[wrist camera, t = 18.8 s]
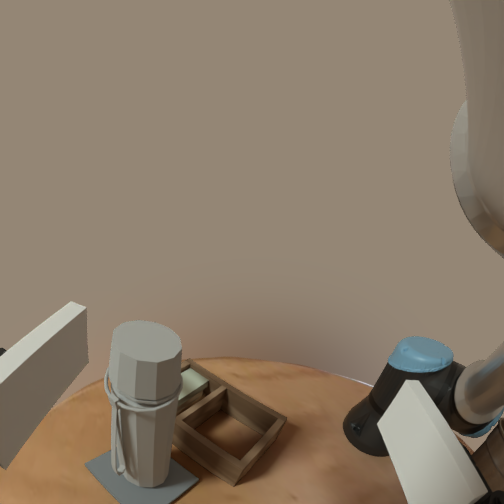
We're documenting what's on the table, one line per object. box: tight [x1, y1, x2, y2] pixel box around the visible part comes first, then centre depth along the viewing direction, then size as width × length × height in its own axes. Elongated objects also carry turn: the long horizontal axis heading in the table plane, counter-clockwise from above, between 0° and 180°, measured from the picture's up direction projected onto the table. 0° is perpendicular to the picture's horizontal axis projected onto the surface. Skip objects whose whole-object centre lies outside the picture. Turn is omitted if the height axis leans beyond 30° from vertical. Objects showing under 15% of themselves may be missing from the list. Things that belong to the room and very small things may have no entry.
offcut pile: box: [176, 368, 209, 416], centre depth 46 cm, size 10×5×5 cm, turn 149°
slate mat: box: [85, 447, 199, 504], centre depth 29 cm, size 12×12×1 cm
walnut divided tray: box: [172, 358, 287, 487], centre depth 42 cm, size 14×22×6 cm, turn 59°
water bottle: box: [104, 320, 183, 488], centre depth 26 cm, size 9×8×25 cm
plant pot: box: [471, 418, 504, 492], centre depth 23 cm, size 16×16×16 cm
